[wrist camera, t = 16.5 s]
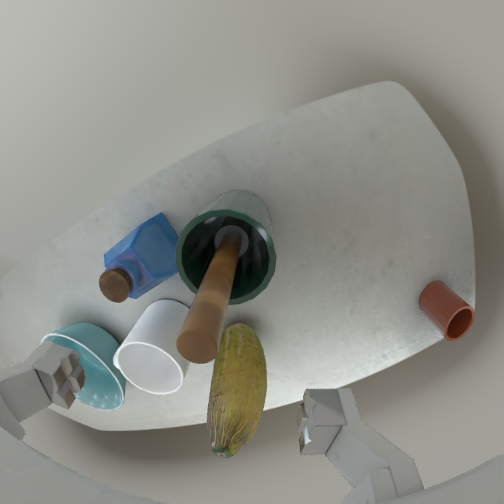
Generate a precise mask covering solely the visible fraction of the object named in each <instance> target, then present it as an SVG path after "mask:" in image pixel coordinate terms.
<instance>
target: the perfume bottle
mask: <svg viewBox="0 0 504 504" xmlns="http://www.w3.org/2000/svg"><path fill="white" fill-rule="evenodd" d="M178 239H179V238H178V236H177V235H176V233H175V232H174V230H173V229H172V228H171V226H170V225H169V223H168V222H167V220H166V219H165V217H164V216H163V214H162V213H160V214H158V215H156V216H155V217H153V218H151V219H149V220H148V221H146V222H144V223H143V224H141V225H140V226H139V227H137V228H136V229H135V230H133V231H132V232H131V233H130V234H128V235H127V236H126V237H125V238H123V239H122V240H121V241H120V242H119V243H117V244H116V245H115V246H114V247H113V248H111V249H110V250H109V251H108V252H107V253H105V254H104V262H105V267H106V270H105V272H104V273H102V275H101V276H100V279H99V286H100V289H101V291H102V293H103V295H104V296H105V297H106V298H107V299H109V300H110V301H113V302H116V303H120V302H123V301H125V300H126V299H127V297H130V298H135V299H137V298H138V297H140V296H141V295H143V294H144V293H146V292H148V291H149V290H151V289H152V288H154V287H155V286H157V285H158V284H160V283H162V282H163V281H165V280H166V279H168V278H169V277H171V276H173V275H174V274H176V273H177V271H178V268H177V266H176V244H177V242H178Z"/></svg>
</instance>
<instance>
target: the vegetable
mask: <svg viewBox="0 0 504 504" xmlns="http://www.w3.org/2000/svg"><path fill="white" fill-rule="evenodd" d="M266 389H267V370H266V361H265V356H264V352H263V348H262V346H261V343H260V341H259V338H258V337H257V335H256V333H255V332H254V331H253V330H252V329H251V328H250V327H249V326H248V325H246V324H243V323H237V324H233V325H230V326H228V327H227V328H226V329H225V330H224V331H223V333H222V336H221V341H220V346H219V351H218V354H217V356H216V357H215V363H214V369H213V376H212V382H211V387H210V396H209V403H208V412H207V427H208V432H209V436H210V446H211V450H212V452H213V453H214V454H215V455H217V456H219V457H223V458H228V457H231V456H233V455H234V454H236V453H237V452H238V450H239V449H240V448H241V447H242V446H243V445H244V444H246V442H248V441H249V440H250V439H251V438H252V436H253V435H254V433H255V432H256V430H257V428H258V425H259V422H260V419H261V416H262V412H263V408H264V403H265V397H266Z"/></svg>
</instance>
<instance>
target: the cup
mask: <svg viewBox="0 0 504 504" xmlns="http://www.w3.org/2000/svg"><path fill="white" fill-rule="evenodd" d="M226 216H230V217H233V218H237V219H241V220H244V221H245V222H247V223H248V224H250V225H251V226H252V227H251V235H250V243H249V248H248V250H247V252H246V253H245V254H244V255H243V256H241V257H239V258H238V262H237V266H236V271H235V276H234V280H233V285H232V289H231V294H230V299H229V303H228V305H234V304H241V303H243V302H246V301H248V300H251V299H253V298H255V297H256V296H257V295H258V294H260V293H261V292H262V291H263V290H264V289H265V288H266V287H267V286H268V284H269V282H270V280H271V278H272V277H273V275H274V272H275V265H276V250H275V244H274V238H273V232H272V226H271V221H270V216H269V212H268V210H267V208H266V206H265V204H264V203H263V202H262V200H261V199H260V198H258V197H257V196H256V195H254V194H252V193H250V192H247V191H242V190H234V191H229V192H226V193H224V194H222V195H220V196H218V197H217V198H216V199H215V200H214V201H213V202H211V203H210V204H209V205H208V206H207V207H206V208H205V209H203V210H202V211H201V212H200V213H199V214H198V215H197V216H196V217H194V218H193V219H192V220H191V221H190V222H189V224H188V225H187V226H186V227H185V228H184V229H183V230H182V232H181V234H180V236H179V239H178V242H177V244H176V266H177V268H178V271H179V274H180V277H181V278H182V280H183V282H184V283H185V284H186V285H187V286H188V288H189V289H190V290H191V291H192V292H193V293H195V294H197V291H198V289H199V287H200V285H201V283H202V281H203V278H204V276H205V274H206V272H207V270H208V268H209V265H210V263H211V261H212V259H213V257H214V255H215V253H216V248H215V246H214V237H215V234H216V233H217V231H218V229H219V228H220V226H221V224H222V223H223V221H224V219H225V218H226Z"/></svg>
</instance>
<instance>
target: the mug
mask: <svg viewBox="0 0 504 504" xmlns="http://www.w3.org/2000/svg"><path fill="white" fill-rule="evenodd" d="M188 311H189V308H187V307H186V306H185V305H183V304H181V303H179V302H177V301H173V300H158V301H156V302H154V303H152V304H151V305H149V306H148V307H147V309H146V310H145V311H144V312H143V314H142V315H141V317H140V318H139V320H138V321H137V322H136V324H135V325H134V327H133V328H132V330H131V331H130V333H129V334H128V336H127V337H126V339H125V340H124V342H123V343H122V345H121V346H120V347H119V348H118V350H117V351H116V353H115V355H114V357H113V363H114V365H115V367H116V368H118V369H120V371H121V373H122V374H123V375H124V377H125V378H126V379H127V380H128V381H129V382H131V383H132V384H133V385H135V386H136V387H138V388H140V389H142V390H144V391H146V392H149V393H153V394H161V395H164V394H171V393H173V392H176V391H177V390H178V389H179V388H180V387H181V386H182V384H183V381H184V378H185V375H186V372H187V369H188V366H189V363H190V361H188V360H186V359H185V358H183V357H182V356H181V355H180V353H179V352H178V350H177V347H176V339H177V336H178V334H179V332H180V330H181V327H182V325H183V323H184V320H185V318H186V316H187V314H188Z"/></svg>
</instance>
